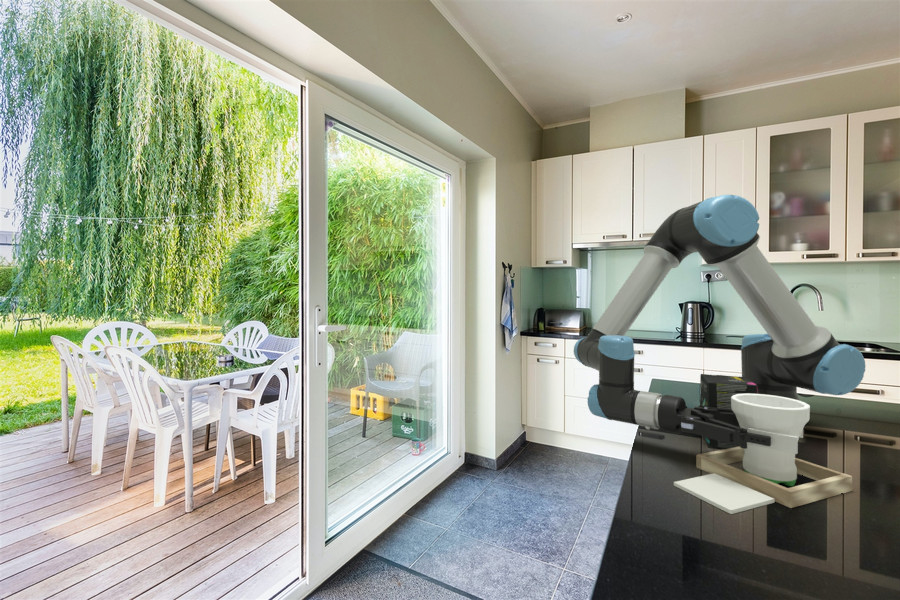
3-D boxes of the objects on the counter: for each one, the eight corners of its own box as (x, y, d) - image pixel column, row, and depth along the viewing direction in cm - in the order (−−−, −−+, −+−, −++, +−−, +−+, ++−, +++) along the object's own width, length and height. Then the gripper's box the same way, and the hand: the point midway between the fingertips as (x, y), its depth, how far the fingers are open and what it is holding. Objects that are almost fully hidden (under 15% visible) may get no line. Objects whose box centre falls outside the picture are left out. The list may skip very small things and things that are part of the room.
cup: (717, 465, 78) (717, 393, 78) (776, 465, 78) (775, 393, 78) (760, 493, 67) (760, 408, 67) (829, 493, 66) (828, 409, 66)
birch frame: (752, 456, 82) (752, 444, 82) (852, 490, 67) (852, 476, 67) (696, 467, 77) (696, 454, 77) (790, 508, 62) (790, 492, 62)
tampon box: (759, 454, 83) (759, 384, 83) (708, 448, 87) (707, 381, 87) (745, 437, 93) (745, 375, 93) (699, 432, 97) (699, 372, 97)
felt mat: (714, 476, 73) (714, 473, 73) (774, 502, 64) (774, 498, 64) (673, 485, 70) (673, 482, 70) (730, 514, 60) (730, 510, 60)
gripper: (678, 418, 93) (805, 442, 77) (642, 443, 77) (793, 479, 61) (677, 386, 93) (805, 403, 77) (642, 404, 77) (793, 431, 61)
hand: (800, 437), depth 69 cm, fingers closed on cup, 10 cm apart
